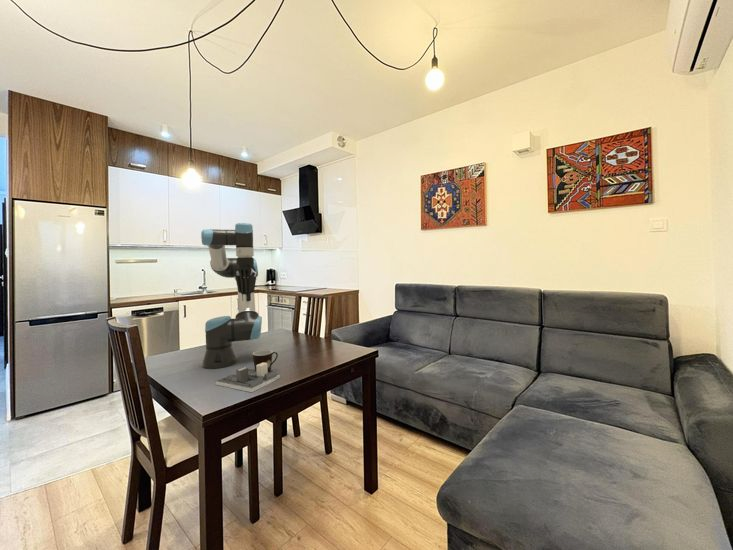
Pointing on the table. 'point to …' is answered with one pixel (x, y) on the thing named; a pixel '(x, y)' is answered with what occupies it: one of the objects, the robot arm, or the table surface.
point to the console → (249, 381)
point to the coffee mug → (264, 358)
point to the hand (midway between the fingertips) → (246, 308)
